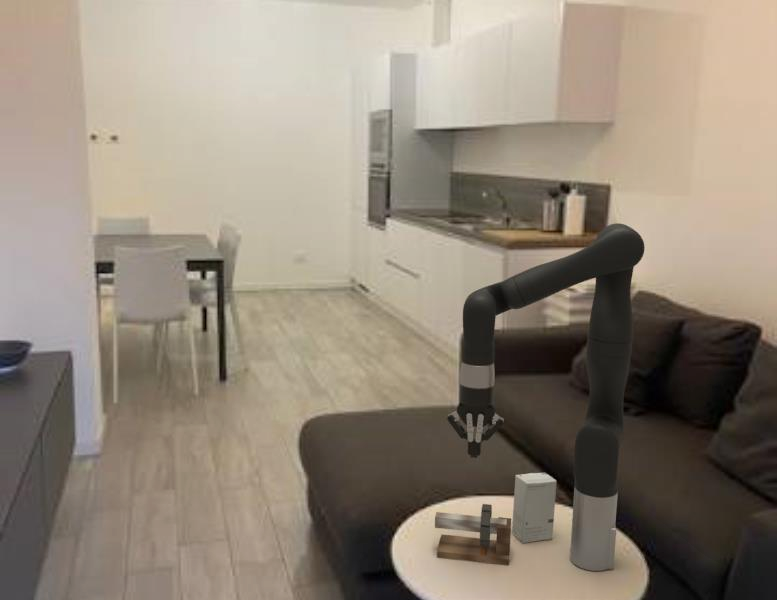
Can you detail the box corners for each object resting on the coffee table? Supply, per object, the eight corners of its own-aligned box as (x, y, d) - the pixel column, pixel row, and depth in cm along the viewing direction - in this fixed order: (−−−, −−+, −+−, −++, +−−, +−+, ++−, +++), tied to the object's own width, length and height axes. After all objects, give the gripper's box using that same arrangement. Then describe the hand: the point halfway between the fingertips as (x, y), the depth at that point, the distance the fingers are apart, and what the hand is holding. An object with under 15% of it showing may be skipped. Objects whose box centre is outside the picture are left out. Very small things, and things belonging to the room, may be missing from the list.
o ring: (490, 534, 179) (492, 499, 177) (488, 552, 171) (489, 516, 169) (481, 533, 179) (483, 498, 178) (479, 551, 171) (480, 515, 169)
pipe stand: (510, 547, 178) (511, 513, 177) (508, 565, 171) (510, 530, 169) (436, 539, 181) (437, 506, 180) (432, 556, 174) (433, 522, 172)
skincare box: (522, 544, 180) (525, 484, 177) (510, 532, 186) (513, 474, 183) (554, 539, 183) (557, 480, 180) (541, 527, 188) (545, 470, 185)
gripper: (508, 379, 172) (504, 452, 175) (448, 375, 174) (446, 447, 177) (506, 389, 165) (503, 465, 168) (445, 384, 167) (442, 460, 170)
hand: (473, 456), depth 173 cm, fingers closed
